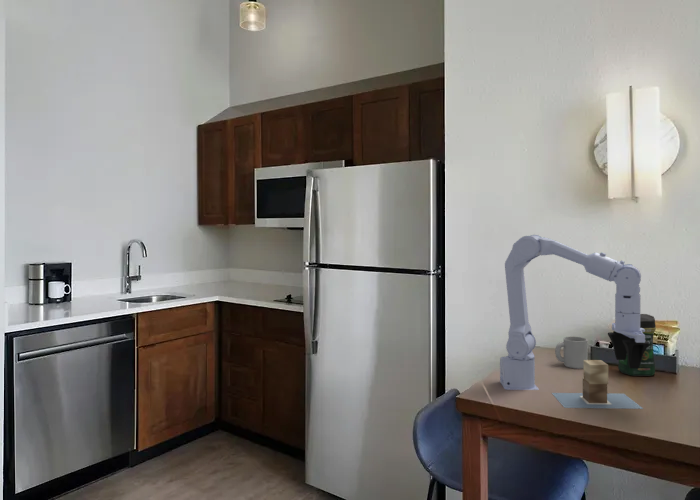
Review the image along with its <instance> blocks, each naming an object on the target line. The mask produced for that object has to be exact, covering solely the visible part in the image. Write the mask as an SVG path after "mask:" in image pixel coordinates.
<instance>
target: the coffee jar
mask: <svg viewBox="0 0 700 500" xmlns="http://www.w3.org/2000/svg"><path fill="white" fill-rule="evenodd" d="M640 328H643V329H645V332H642V333H643V334H644V335H645V341H647V342H649V346H648V347H647V349H646V350H645V352H644V354H643V357H642V360H641V363H640V366H639V368H629V364H628V357H627V356H626V360H618V367H617V369H618V370H619V371H620V372H621V373H622V374H624V375H629V376H634V377H648V376H650V377H651V376H654V375H655V372H656V363H655V355H654V335H655V334H654V333H655V331H656V329H657V326H656V318H655V317H654V316H653V315H650V314H647V313H640ZM630 340H631V338H630Z"/></svg>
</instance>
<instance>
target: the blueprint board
mask: <svg viewBox="0 0 700 500" xmlns="http://www.w3.org/2000/svg"><path fill="white" fill-rule="evenodd" d="M551 394H552V395H553V397H554V398H555V399H556V400H557V401H558V402H559V403H560V404H561V406H562V407H563V408H564V409H622V410H623V409H630V410H631V409H632V410H633V409H634V410H635V409H637V410H642V409H644V407H642V406H641V405H639V404H638V403H637V402H635V400H633V399H632V398H630V397H629V396H627V395H626V393H616V392H615V393H608V392H607V403H589V402H588V401H586V400H585V399H584V398H583V392H551Z"/></svg>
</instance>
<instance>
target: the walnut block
mask: <svg viewBox="0 0 700 500" xmlns="http://www.w3.org/2000/svg"><path fill="white" fill-rule="evenodd" d="M582 393H583V398H584V399H585V400H586V401H588V402H589V403H607V393H608V384H589V383H588V382H587V381H586V380H585V379H584V378H582Z"/></svg>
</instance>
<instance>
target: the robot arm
mask: <svg viewBox="0 0 700 500" xmlns="http://www.w3.org/2000/svg"><path fill="white" fill-rule="evenodd" d="M552 255H555V256H557V257H559V258H563V259H566V260H568V261H571V262H573V263H577V264H579V265H581V266H583V267H584V270H585V272H586V273H588V274H591V275H593V276H596V277H599V278H600V279H603V280H606V281H607V282H614V283H615V287H616V288H615V289H616V290H615V295H614V300H615V301H614V302H615V305H614V308H615V309H614V310H615V311H614V321H615V322H612V323H611V331H612V332H608V333H607V336H608V337H609V340H610V342H611V345H612V347H613V351H614V356H615V359H616V360H617V361H619V360H626V356H627V357H628V364H629V368H639V366H640V363H641V360H642V357H643V354H644V352H645V350H646V349H647V347H648V346H649V342H647V341H645V335H644V334H643V333H642V332H645V329H643V328H640V314H641V294H640V292H641V287H640V284H641V281H642V280H641V279H642V274H641V272H640V270H639V268H637V267H636V266H634V265H633V264H630V263H627V264H626V263H625V261H624V260H620V261H619V260H617V259H614V258H611V257H609V256H606V255H607V253H606V252H602V251H601V252H600V253H599V252H597V251H596V252H593V253H590V254H588V253H586V252H583V251H581V250H579V249H576V248H574V247H572V246H569V245H567V244H565V243H563V242H560V241H558V240H555V239H552V238H550V237H545V236H544V237H542V236H540V235H539V234H530V235H524V236H522V237H520V238H519V239H518V240H516V241H515V242H514V243H513V245H512V247H511V250H510V252H509V254H508V255H507V258H506V260H505V262H504V271H505V282H506V291H507V302H508V313H509V315H508V316H509V323H510V324H509V328H508V332H507V333H508V338H507V341H506V345H505V348H506V351H507V354H508V355H507V356H501V357H500V358H499V382H500V385H501V386H502V387H503V389H504V390H506V391H507V390H509V391H510V390H512V391H513V390H514V391H515V390H517V391H523V390H525V391H539V390H540V389H539V387H538V386H537V385H536V384H535V383H536V381H535V378H536V376H535V372H536V371H535V370H536V369H535V367H536V366H535V362H536V361H535V359H536V357H535V354H534V353H533V350H534V349H535V347H536V345H537V341H536V338H535V337H536V336H535V335H534V334H533V331H532V327H531V324H530V323H529V313H528V303H527V292H526V281H525V271H524V269H525V268H526V267H527V266H528V265H529V263H531V261H533V260H534V259H536V258H538V257H539V256H552ZM630 338H631V340H630Z"/></svg>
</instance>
